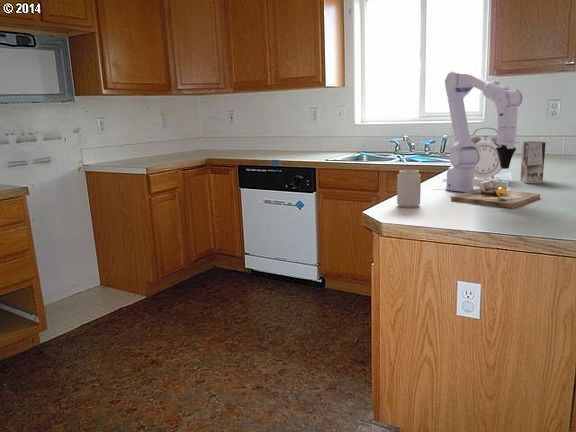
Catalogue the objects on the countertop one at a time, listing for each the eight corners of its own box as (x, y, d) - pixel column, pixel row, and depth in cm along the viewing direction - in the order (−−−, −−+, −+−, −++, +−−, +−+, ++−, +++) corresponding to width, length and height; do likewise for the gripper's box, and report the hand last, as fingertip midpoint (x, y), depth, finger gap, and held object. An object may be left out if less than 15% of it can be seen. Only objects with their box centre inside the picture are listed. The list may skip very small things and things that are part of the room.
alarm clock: (461, 181, 206) (463, 128, 201) (465, 178, 213) (467, 127, 208) (503, 182, 198) (506, 127, 193) (505, 179, 205) (508, 126, 200)
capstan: (461, 194, 168) (461, 182, 167) (481, 188, 177) (481, 176, 176) (503, 199, 157) (504, 186, 156) (522, 192, 167) (522, 180, 166)
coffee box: (543, 183, 192) (546, 142, 188) (525, 183, 193) (528, 142, 190) (536, 180, 201) (539, 140, 197) (519, 180, 202) (522, 141, 198)
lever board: (450, 200, 167) (451, 195, 166) (480, 191, 180) (480, 187, 180) (512, 208, 152) (512, 203, 151) (539, 198, 165) (540, 193, 165)
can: (421, 204, 164) (421, 168, 161) (419, 208, 157) (420, 171, 154) (398, 203, 166) (398, 168, 164) (395, 208, 159) (396, 171, 157)
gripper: (525, 128, 153) (522, 171, 156) (515, 126, 167) (512, 165, 170) (501, 128, 154) (499, 171, 157) (493, 126, 168) (491, 166, 171)
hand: (504, 168), depth 164 cm, fingers closed
